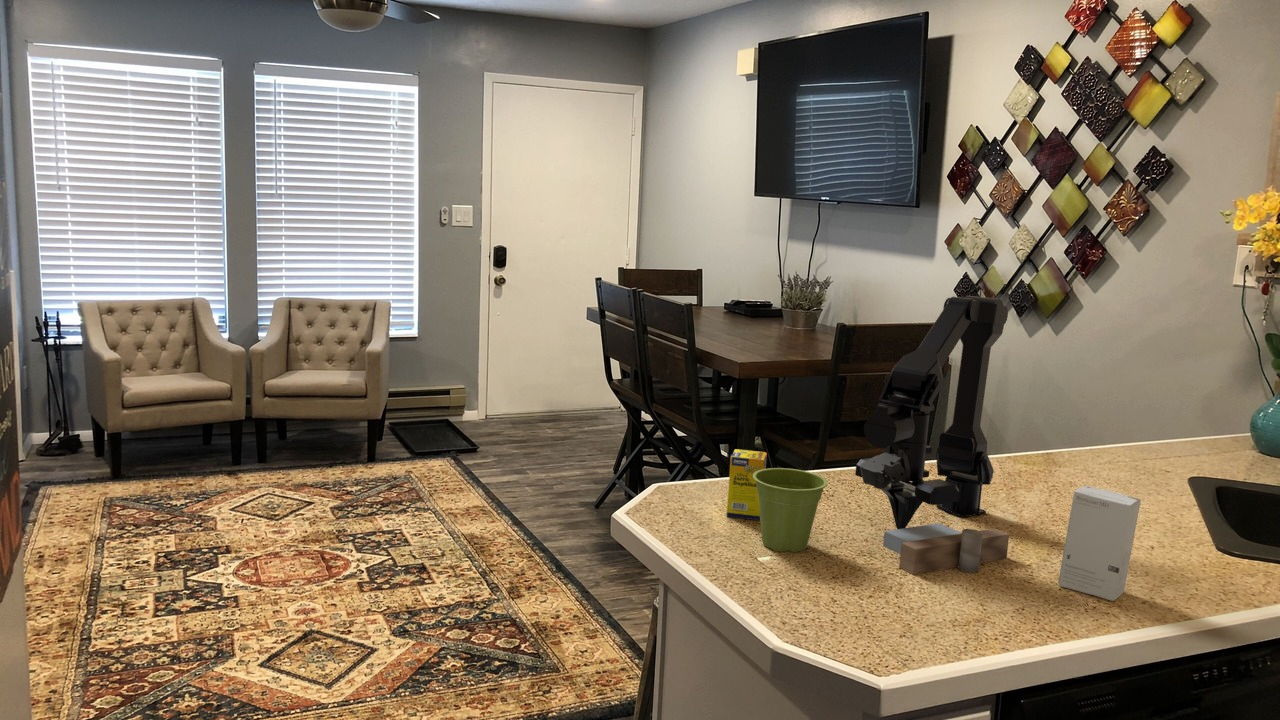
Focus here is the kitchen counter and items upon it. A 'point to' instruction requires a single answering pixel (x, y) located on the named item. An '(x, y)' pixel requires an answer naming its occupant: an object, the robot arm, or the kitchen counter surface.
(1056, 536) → the kitchen counter surface
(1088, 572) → the skincare box
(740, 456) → the supplement box
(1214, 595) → the kitchen counter surface
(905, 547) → the walnut bar
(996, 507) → the kitchen counter surface
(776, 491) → the plant pot
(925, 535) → the slate plate
